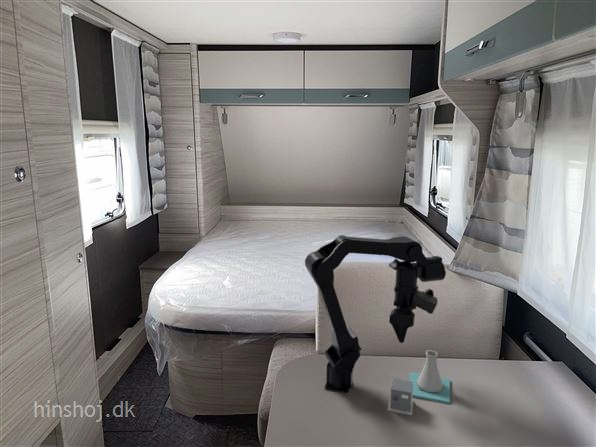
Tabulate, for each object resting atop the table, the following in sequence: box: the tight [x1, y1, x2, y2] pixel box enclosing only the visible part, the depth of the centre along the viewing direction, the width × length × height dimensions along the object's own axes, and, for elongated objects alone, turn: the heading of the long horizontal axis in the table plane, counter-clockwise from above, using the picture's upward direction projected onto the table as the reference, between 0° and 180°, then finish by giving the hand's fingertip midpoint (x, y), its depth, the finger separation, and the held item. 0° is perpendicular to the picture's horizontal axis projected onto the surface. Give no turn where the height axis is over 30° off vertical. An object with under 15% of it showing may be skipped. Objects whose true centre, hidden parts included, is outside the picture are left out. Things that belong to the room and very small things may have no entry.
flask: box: [416, 349, 443, 392], centre depth 121 cm, size 7×7×10 cm
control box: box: [387, 377, 414, 416], centre depth 114 cm, size 6×6×6 cm
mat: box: [408, 371, 451, 405], centre depth 122 cm, size 11×11×1 cm
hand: (403, 335), depth 125 cm, fingers open, 9 cm apart
